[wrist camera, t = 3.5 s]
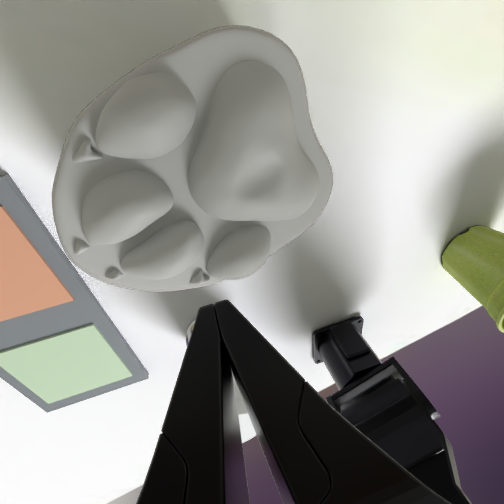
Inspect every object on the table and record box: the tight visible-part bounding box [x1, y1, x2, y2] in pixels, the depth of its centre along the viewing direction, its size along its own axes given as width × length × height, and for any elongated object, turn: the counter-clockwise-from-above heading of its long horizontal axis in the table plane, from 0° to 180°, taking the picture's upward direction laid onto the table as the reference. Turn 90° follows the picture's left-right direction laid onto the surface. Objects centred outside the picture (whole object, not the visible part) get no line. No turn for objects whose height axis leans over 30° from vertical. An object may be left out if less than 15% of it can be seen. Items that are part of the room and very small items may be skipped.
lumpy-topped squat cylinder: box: [52, 25, 333, 292], centre depth 15 cm, size 10×13×9 cm
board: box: [0, 174, 148, 412], centre depth 22 cm, size 22×10×1 cm, turn 9°
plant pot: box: [442, 226, 504, 333], centre depth 29 cm, size 9×9×9 cm
